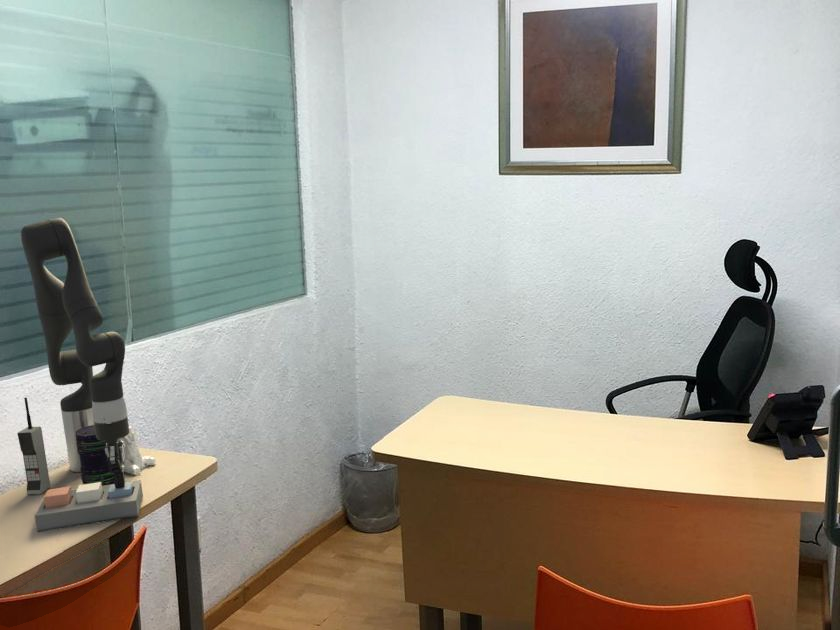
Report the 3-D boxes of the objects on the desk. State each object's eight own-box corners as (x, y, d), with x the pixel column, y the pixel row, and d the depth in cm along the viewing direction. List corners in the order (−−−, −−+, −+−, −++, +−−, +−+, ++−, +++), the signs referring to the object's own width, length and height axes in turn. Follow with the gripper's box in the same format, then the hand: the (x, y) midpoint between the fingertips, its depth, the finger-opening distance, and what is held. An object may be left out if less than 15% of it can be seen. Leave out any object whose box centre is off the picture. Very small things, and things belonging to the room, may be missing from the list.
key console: (48, 509, 205) (46, 493, 204) (142, 495, 210) (140, 480, 209) (37, 532, 192) (34, 515, 191) (138, 516, 196) (135, 500, 196)
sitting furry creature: (136, 476, 224) (130, 433, 222) (109, 474, 227) (103, 432, 225) (157, 463, 233) (152, 422, 231) (131, 462, 236) (126, 421, 234)
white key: (81, 498, 202) (79, 485, 201) (103, 495, 203) (101, 481, 203) (78, 506, 197) (75, 492, 197) (100, 503, 198) (98, 489, 198)
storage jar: (106, 475, 227) (98, 422, 224) (130, 480, 222) (123, 425, 219) (74, 488, 218) (66, 433, 216) (99, 493, 213) (91, 437, 211)
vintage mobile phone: (26, 495, 216) (11, 401, 212) (37, 487, 221) (22, 395, 217) (40, 494, 216) (26, 400, 211) (50, 487, 221) (36, 395, 216)
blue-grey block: (112, 498, 204) (110, 484, 203) (134, 495, 205) (132, 481, 204) (110, 506, 199) (108, 492, 198) (132, 502, 200) (130, 488, 200)
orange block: (50, 503, 201) (47, 489, 200) (72, 500, 202) (70, 486, 201) (46, 511, 196) (43, 497, 195) (68, 508, 197) (66, 493, 196)
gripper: (97, 411, 204) (107, 479, 207) (89, 427, 191) (100, 499, 194) (129, 407, 206) (138, 475, 209) (124, 422, 193) (134, 494, 196)
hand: (120, 486), depth 201 cm, fingers closed
